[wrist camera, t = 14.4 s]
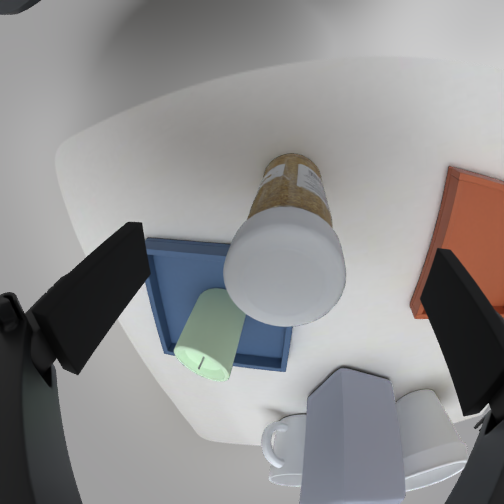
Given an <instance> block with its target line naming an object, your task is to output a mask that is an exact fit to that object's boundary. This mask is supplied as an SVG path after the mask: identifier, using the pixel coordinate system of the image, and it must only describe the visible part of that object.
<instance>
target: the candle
mask: <svg viewBox="0 0 504 504" xmlns="http://www.w3.org/2000/svg"><path fill="white" fill-rule="evenodd" d="M245 316H246V314H245V313H244V312H243V311H242V310H240V309H239V308H238V307H237V305H236V304H235V303H234V302H233V300H232V299H231V298H230V296H229V294H228V292H227V290H225V289H219V288H213V289H208V290H206V291H204V292H203V293H202V294H200V296H199V298H198V300H197V302H196V304H195V306H194V308H193V310H192V312H191V314H190V316H189V318H188V320H187V323H186V325H185V327H184V329H183V331H182V333H181V335H180V337H179V340H178V342H177V344H176V346H175V348H174V354H175V356H176V358H177V359H178V360H179V361H180V362H181V363H182V364H183V365H184V366H185V367H186V368H188V369H189V370H191V371H192V372H194V373H196V374H198V375H200V376H202V377H204V378H207V379H210V380H214V381H226V380H228V379H229V377H230V374H231V370H232V366H233V362H234V358H235V355H236V351H237V347H238V343H239V339H240V335H241V332H242V328H243V324H244V320H245Z"/></svg>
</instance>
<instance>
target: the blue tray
mask: <svg viewBox="0 0 504 504" xmlns="http://www.w3.org/2000/svg"><path fill="white" fill-rule="evenodd" d="M145 245H146V250H147V256H148V261H149V267H150V272H151V275H150V276H149V277H148V278H147V280H146V281H145V283H146V288H147V292H148V296H149V300H150V304H151V308H152V312H153V316H154V320H155V323H156V327H157V331H158V334H159V338H160V341H161V344H162V348H163V351H164V354H169V355H173V356H175V354H174V348H175V346H176V344H177V342H178V340H179V337H180V335H181V333H182V331H183V329H184V327H185V325H186V323H187V320H188V318H189V316H190V314H191V312H192V310H193V308H194V306H195V304H196V302H197V300H198V298H199V296H200V294H202V293H203V292H204V291H206V290H208V289H213V288H219V289H225V290H227V289H226V286H225V283H224V277H223V269H224V262H225V259H226V256H227V253H228V250H229V248H230V245H231V244H220V243H208V242H196V241H183V240H171V239H158V238H147V239H146V241H145ZM292 328H293V326H291V327H281V326H274V325H269V324H265V323H263V322H260V321H258V320H255V319H253V318H252V317H250V316H248V315H247V314H246V316H245V320H244V324H243V328H242V332H241V335H240V339H239V343H238V347H237V351H236V355H235V358H234V362H233V366H237V367H245V368H253V369H261V370H270V371H280V372H286V367H287V360H288V354H289V348H290V341H291V334H292Z"/></svg>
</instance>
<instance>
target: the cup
mask: <svg viewBox="0 0 504 504" xmlns="http://www.w3.org/2000/svg"><path fill="white" fill-rule="evenodd" d="M396 409H397V415H398V422H399V429H400V436H401V444H402V453H403V463H404V474H405V489H406V491H411V490H415V489H419V488H423V487H426V486H429V485H432V484H435V483H438V482H440V481H443V480H445V479H447V478H449V477H451V476H453V475H455V474H457V473H459V472H460V471H461V470H463V469H464V467H465V465H466V463H467V461H468V451H467V444H466V443H465V442H462V440H461V438H460V436H459V434H458V433H457V431H456V429H455V427H454V425H453V423H452V422H451V420H450V418H449V416H448V415H447V413H446V411H445V409H444V408H443V406H442V404H441V402H440V401H439V399H438V397H437V396H436V394H435V392H434V391H433V390H430V389H422V390H417V391H414V392H411V393H409V394H407V395H405V396H404V397H402V398H401V399H399V400H398V401H397V402H396Z"/></svg>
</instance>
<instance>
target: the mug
mask: <svg viewBox="0 0 504 504" xmlns="http://www.w3.org/2000/svg"><path fill="white" fill-rule="evenodd" d="M275 430H276V432H275V439H274V446H273V449H272V446H271V438H272V434H273V432H274V431H275ZM305 433H306V415H305V414H300V415H292V416H288V417H285V418H283V419H282V420H280V421H279V422H273V423H271V424H269V425H268V426H267V427H266V428H265V430H264V432H263V435H262V439H261V446H262V451H263V454H264V456H265V458H266V459H267V461H268V462H269V463H270V464H271V467H270V474H269V480H270V481H271V482H273V483H275V484H279V485H284V486H294V487H301V483H302V472H303V460H304V447H305Z"/></svg>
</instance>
